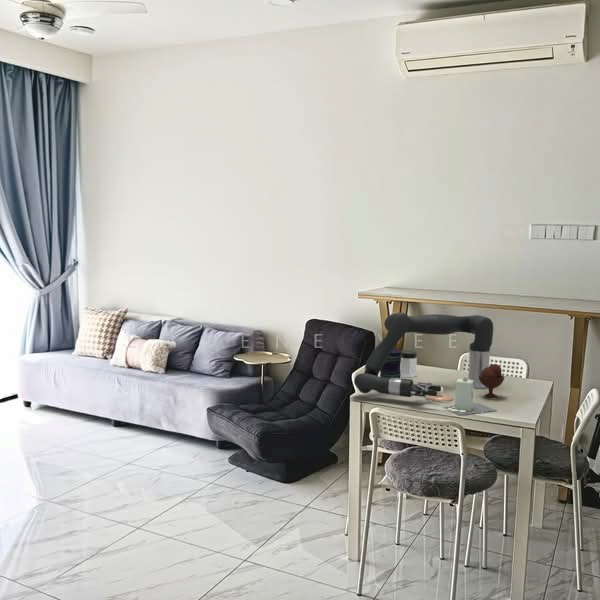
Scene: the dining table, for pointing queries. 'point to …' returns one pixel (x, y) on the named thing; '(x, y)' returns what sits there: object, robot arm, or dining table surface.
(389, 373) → the storage jar
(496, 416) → the dining table surface
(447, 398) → the saucer
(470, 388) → the tall green carton
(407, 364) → the jar
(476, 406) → the mat
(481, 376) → the ice cream bowl
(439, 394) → the candle
